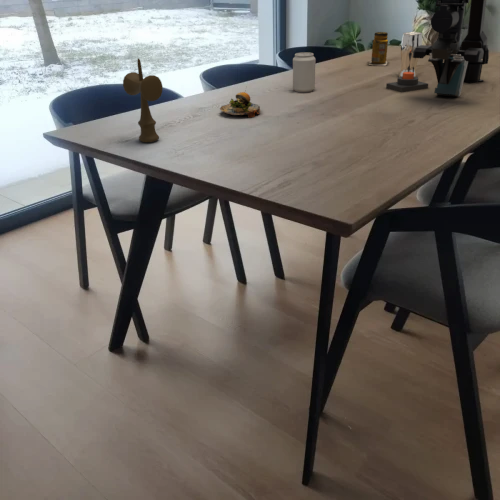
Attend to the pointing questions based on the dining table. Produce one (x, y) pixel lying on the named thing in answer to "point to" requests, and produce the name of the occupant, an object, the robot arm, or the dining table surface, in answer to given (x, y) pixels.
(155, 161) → the dining table surface
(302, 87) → the can
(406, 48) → the beer glass
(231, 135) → the dining table surface
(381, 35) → the condiment
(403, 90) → the switch block
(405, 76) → the power button
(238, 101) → the burger
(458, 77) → the iron
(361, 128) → the dining table surface
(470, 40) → the robot arm
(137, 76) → the kendama
